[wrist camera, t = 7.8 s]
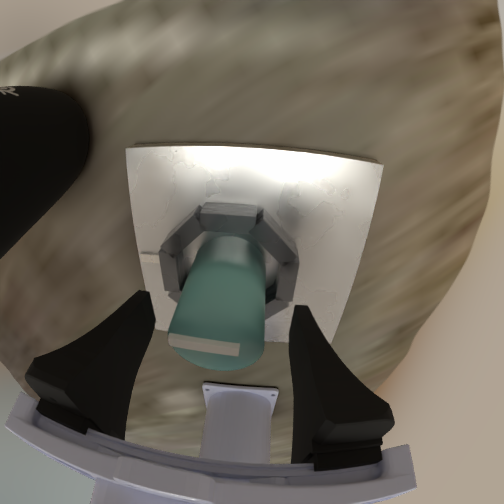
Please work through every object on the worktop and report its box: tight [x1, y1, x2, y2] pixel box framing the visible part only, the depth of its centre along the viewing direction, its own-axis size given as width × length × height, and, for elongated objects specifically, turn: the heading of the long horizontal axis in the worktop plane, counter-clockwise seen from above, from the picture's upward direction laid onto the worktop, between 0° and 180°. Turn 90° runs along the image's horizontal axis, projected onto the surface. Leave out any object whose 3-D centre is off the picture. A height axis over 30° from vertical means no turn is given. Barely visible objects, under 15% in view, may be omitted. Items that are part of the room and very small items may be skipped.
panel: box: [126, 142, 384, 343], centre depth 17 cm, size 14×14×3 cm
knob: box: [168, 236, 266, 371], centre depth 14 cm, size 4×4×6 cm
